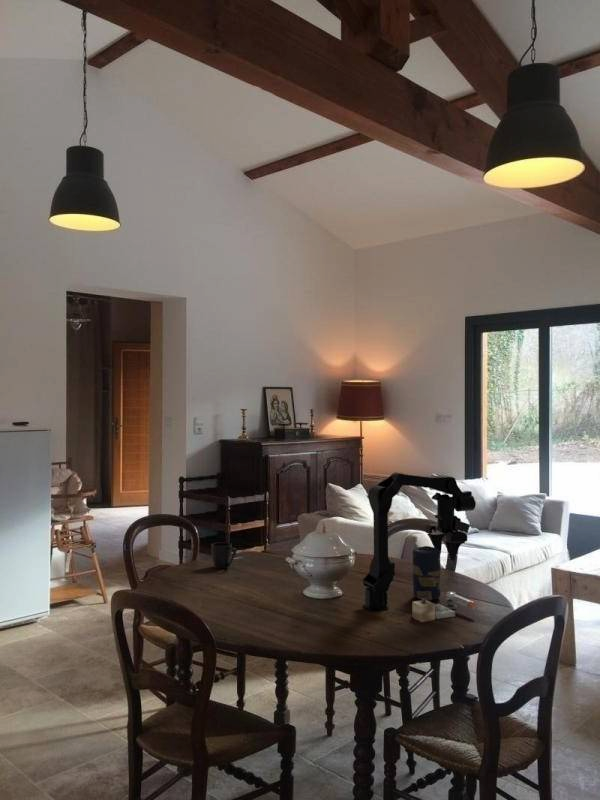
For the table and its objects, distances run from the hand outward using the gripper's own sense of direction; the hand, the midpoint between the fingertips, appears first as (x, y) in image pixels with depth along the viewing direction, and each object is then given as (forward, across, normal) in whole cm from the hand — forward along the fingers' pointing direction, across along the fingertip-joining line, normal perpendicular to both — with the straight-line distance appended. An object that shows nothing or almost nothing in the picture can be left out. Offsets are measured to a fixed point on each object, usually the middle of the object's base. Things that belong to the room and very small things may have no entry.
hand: (445, 557), depth 241 cm
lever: (+12, -14, +3) cm, 18 cm away
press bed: (+14, -14, +11) cm, 22 cm away
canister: (+14, +3, +5) cm, 16 cm away
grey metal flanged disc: (+14, -9, +3) cm, 17 cm away
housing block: (+14, -17, +18) cm, 28 cm away
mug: (+15, +67, +63) cm, 93 cm away
